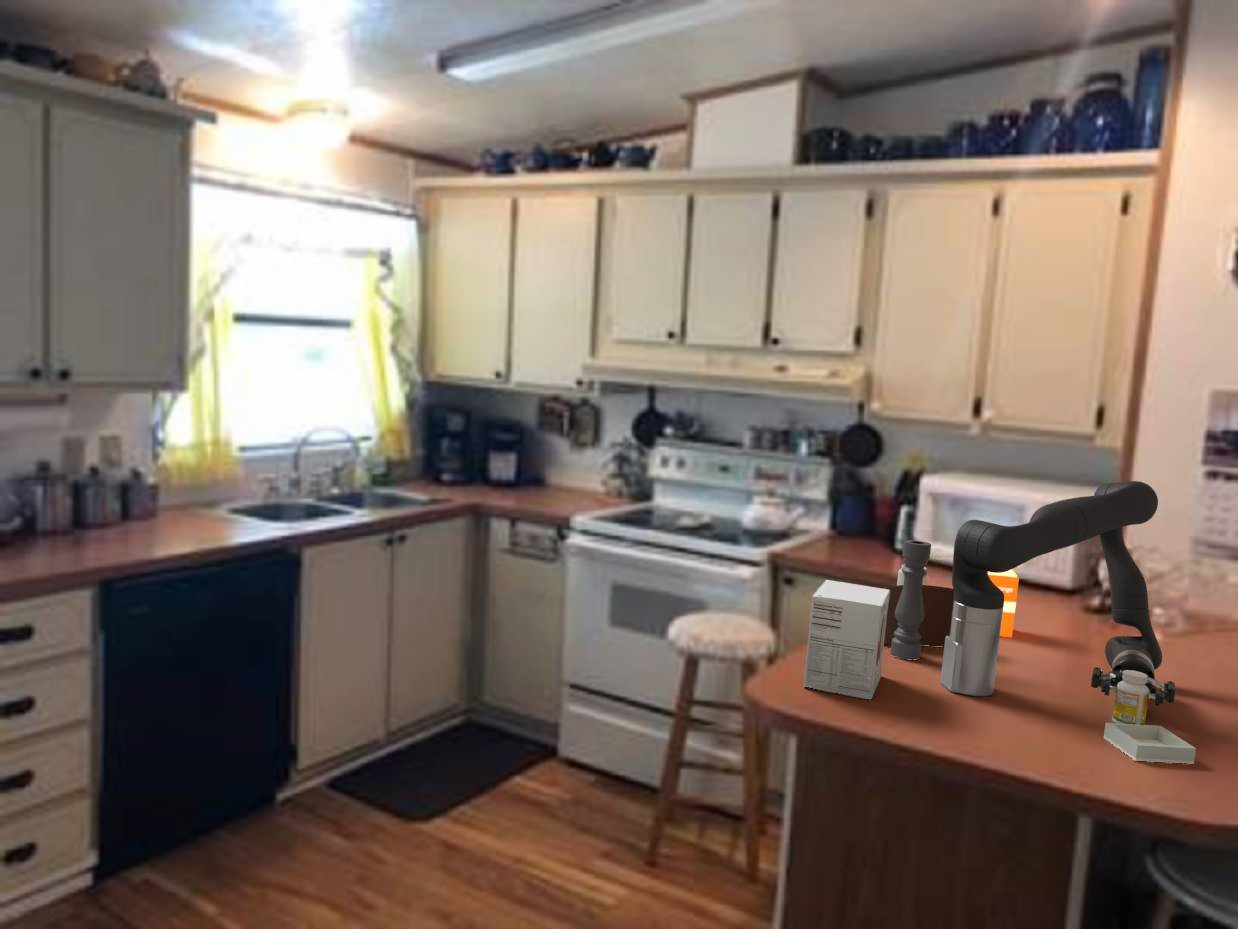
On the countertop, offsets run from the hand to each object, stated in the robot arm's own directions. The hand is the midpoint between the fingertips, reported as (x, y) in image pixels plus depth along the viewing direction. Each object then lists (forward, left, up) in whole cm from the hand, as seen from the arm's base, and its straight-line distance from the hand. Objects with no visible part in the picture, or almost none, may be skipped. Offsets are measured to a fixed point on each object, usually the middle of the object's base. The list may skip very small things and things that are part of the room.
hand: (1132, 695), depth 182 cm
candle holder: (-29, +37, -6) cm, 47 cm away
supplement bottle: (+1, +2, -6) cm, 7 cm away
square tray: (-3, -11, -6) cm, 13 cm away
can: (-14, +77, -6) cm, 78 cm away
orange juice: (+1, +63, -6) cm, 63 cm away
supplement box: (-48, +17, -6) cm, 51 cm away
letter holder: (-23, +50, -6) cm, 56 cm away
